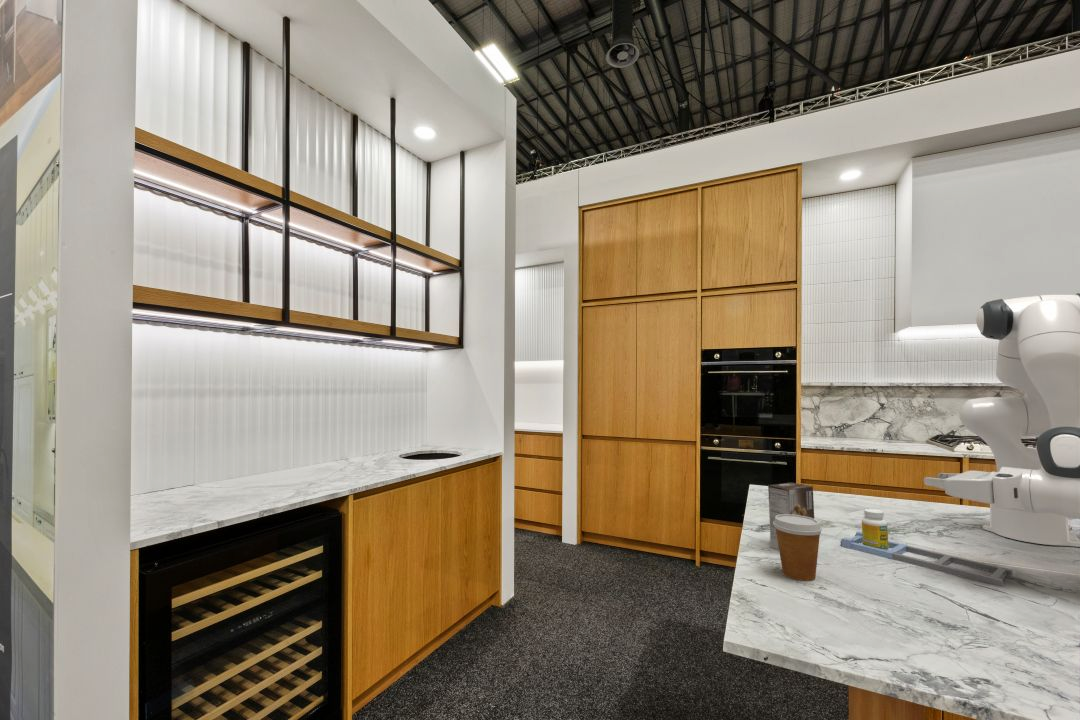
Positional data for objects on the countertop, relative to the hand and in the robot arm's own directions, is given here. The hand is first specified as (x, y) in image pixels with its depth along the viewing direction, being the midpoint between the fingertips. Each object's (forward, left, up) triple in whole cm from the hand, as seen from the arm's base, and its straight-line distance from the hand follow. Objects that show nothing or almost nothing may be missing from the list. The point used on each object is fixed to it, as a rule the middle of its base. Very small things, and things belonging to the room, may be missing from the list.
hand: (931, 478), depth 108 cm
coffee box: (+18, -24, -20) cm, 36 cm away
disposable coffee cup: (+34, -15, -20) cm, 42 cm away
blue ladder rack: (0, -3, -20) cm, 20 cm away
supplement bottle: (0, -12, -20) cm, 23 cm away
